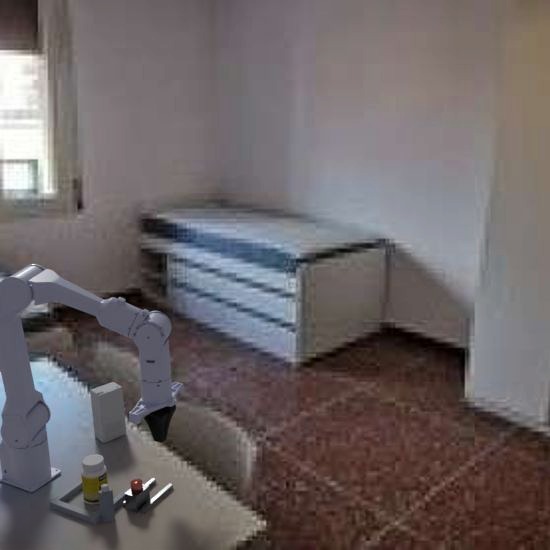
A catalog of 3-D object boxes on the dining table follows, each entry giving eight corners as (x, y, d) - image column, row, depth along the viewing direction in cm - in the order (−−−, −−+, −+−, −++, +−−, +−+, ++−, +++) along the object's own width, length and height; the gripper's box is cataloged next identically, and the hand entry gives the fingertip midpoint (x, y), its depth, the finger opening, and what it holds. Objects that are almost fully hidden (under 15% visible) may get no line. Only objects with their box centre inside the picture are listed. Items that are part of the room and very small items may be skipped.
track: (123, 505, 128) (123, 502, 127) (152, 481, 135) (152, 477, 135) (144, 513, 125) (144, 509, 125) (173, 487, 133) (172, 484, 133)
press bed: (49, 507, 127) (45, 474, 125) (87, 479, 136) (84, 448, 134) (103, 527, 121) (100, 493, 119) (139, 497, 130) (137, 465, 128)
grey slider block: (125, 509, 126) (123, 485, 125) (139, 498, 130) (137, 475, 128) (136, 513, 125) (135, 489, 124) (150, 501, 129) (148, 478, 127)
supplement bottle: (103, 506, 127) (100, 467, 125) (79, 504, 128) (75, 466, 126) (112, 491, 132) (109, 453, 130) (89, 490, 133) (85, 452, 130)
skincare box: (117, 428, 156) (113, 380, 153) (127, 435, 153) (123, 386, 149) (93, 437, 152) (88, 388, 149) (103, 445, 149) (98, 395, 145)
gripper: (149, 396, 120) (153, 463, 123) (195, 366, 132) (197, 428, 136) (118, 388, 123) (123, 454, 127) (165, 359, 135) (169, 420, 139)
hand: (160, 440), depth 131 cm, fingers closed
